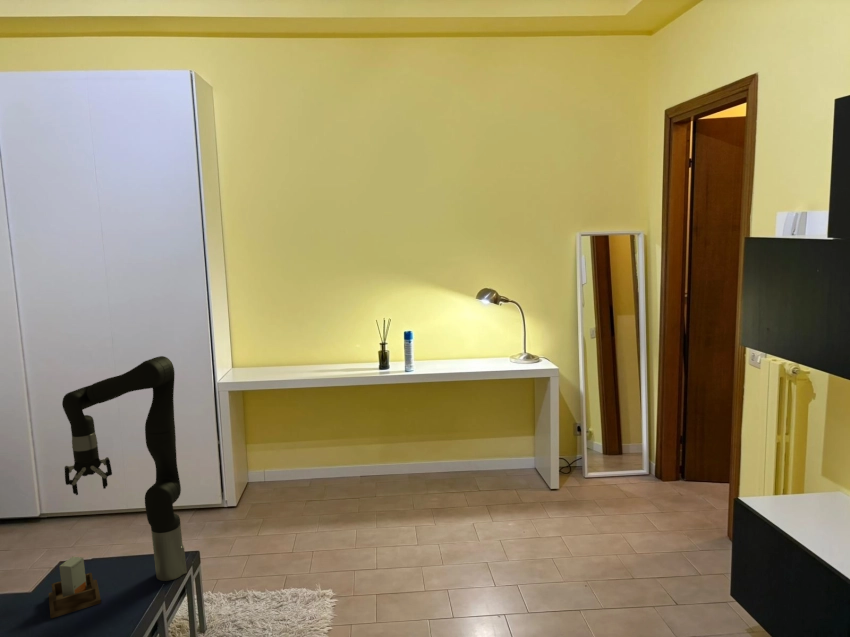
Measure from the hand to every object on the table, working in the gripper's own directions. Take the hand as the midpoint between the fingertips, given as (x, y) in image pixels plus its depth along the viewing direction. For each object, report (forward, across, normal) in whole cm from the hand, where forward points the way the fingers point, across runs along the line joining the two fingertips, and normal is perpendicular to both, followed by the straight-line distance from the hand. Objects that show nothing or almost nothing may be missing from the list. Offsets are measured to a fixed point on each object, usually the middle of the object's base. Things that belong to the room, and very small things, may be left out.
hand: (90, 491), depth 222 cm
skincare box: (+27, +9, +18) cm, 34 cm away
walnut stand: (+28, +9, +18) cm, 35 cm away
